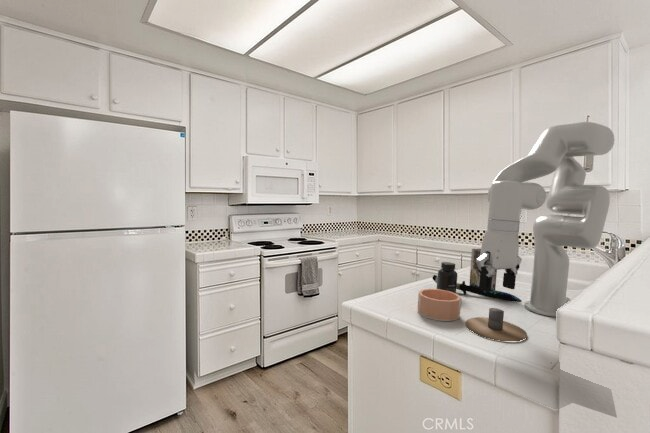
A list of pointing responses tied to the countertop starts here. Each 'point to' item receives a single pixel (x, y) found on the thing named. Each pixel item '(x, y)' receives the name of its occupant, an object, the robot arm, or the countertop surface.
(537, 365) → the countertop surface
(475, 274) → the coffee box
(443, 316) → the bowl
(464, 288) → the knife
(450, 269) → the supplement bottle
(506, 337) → the lid
